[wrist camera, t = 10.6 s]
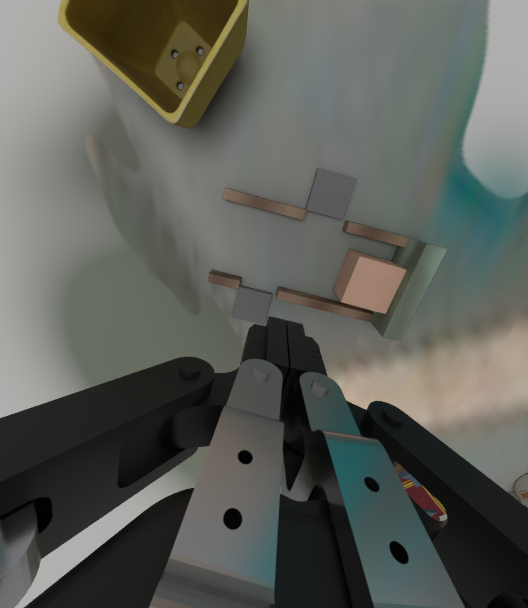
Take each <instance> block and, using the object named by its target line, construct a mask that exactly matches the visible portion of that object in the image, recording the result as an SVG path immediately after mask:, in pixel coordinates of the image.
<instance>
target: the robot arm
mask: <svg viewBox="0 0 528 608" xmlns="http://www.w3.org/2000/svg"><path fill="white" fill-rule="evenodd" d="M203 446H209V449H208V452H207V455H206V457H205V460H204V463H203V466H202V468H201V471H200V474H199V477H198V479H197V482H196V485H195V488H191V489H186V490H183V491H180V492H177V493H174V494H172V495H170V496H168V497H166V498H164V499H162V500H160V501H158V502H157V503H155V504H154V505H152V506H151V507H150V508H148V509H147V510H145V511H144V512H143V513H141V514H140V515H139V516H138V517H136V518H135V519H134V520H133V521H131V522H130V523H129V524H128V525H126V526H125V527H124V528H123V529H121V530H120V531H119V532H118V533H117V534H115V535H114V536H113V537H111V538H110V539H109V540H108V541H106V542H105V543H104V544H103V545H101V546H100V547H99V548H98V549H97V550H95V551H94V552H93V553H91V554H90V555H89V556H88V557H87V558H85V559H84V560H83V561H82V562H80V563H79V564H78V565H77V566H76V567H74V568H73V569H72V570H70V571H69V572H68V573H67V574H65V575H64V576H63V577H62V578H60V579H59V580H58V581H57V582H56V583H54V584H53V585H52V586H50V587H49V588H48V589H47V590H45V591H44V592H43V593H42V594H40V595H39V596H38V597H37V598H35V599H34V600H33V601H32V602H30V603H29V604H28V605H27V606H26V607H24V608H528V508H527V507H525V506H524V505H523V504H522V503H520V502H519V501H518V500H516V499H515V498H514V497H513V496H511V495H510V494H509V493H507V492H506V491H505V490H504V489H502V488H501V487H500V486H498V485H497V484H496V483H495V482H493V481H492V480H491V479H489V478H488V477H487V476H485V475H484V474H483V473H482V472H480V471H479V470H478V469H476V468H475V467H474V466H473V465H471V464H470V463H469V462H467V461H466V460H465V459H464V458H462V457H461V456H460V455H458V454H457V453H456V452H455V451H453V450H452V449H451V448H449V447H448V446H447V445H445V444H444V443H443V442H442V441H440V440H439V439H438V438H436V437H435V436H434V435H433V434H431V433H430V432H429V431H427V430H426V429H425V428H424V427H422V426H421V425H420V424H418V423H417V422H416V421H414V420H413V419H412V418H411V417H409V416H408V415H407V414H405V413H404V412H403V411H401V410H400V409H399V408H397V407H395V406H393V405H391V404H389V403H386V402H382V401H374V402H372V403H370V405H369V406H368V408H367V410H365V409H363V408H361V407H359V406H357V405H354V404H352V403H350V402H348V401H346V400H345V397H344V395H343V393H342V390H341V388H340V387H339V385H338V384H337V383H336V382H335V381H333V380H332V379H331V378H329V377H327V373H326V370H325V366H324V363H323V360H322V356H321V354H320V349H319V345H318V344H317V343H316V342H315V341H314V339H313V338H311V337H307V336H305V333H304V328H303V324H300V323H295V322H291V321H287V320H286V321H285V320H283V319H279V318H275V317H271V316H269V317H268V320H267V324H266V326H261V325H257V324H254V325H253V326H252V327H250V328H249V331H248V335H247V339H246V343H245V347H244V350H243V355H242V359H241V363H240V367H239V368H238V369H236V370H235V371H232V372H228V373H214V369H213V367H212V366H211V365H210V364H209V363H207V362H206V361H204V360H202V359H199V358H195V357H181V358H177V359H174V360H171V361H168V362H165V363H162V364H159V365H156V366H153V367H150V368H147V369H144V370H141V371H138V372H135V373H132V374H129V375H126V376H123V377H121V378H118V379H115V380H112V381H109V382H106V383H103V384H100V385H97V386H94V387H91V388H88V389H85V390H83V391H79V392H76V393H73V394H70V395H68V396H65V397H62V398H59V399H56V400H53V401H50V402H47V403H44V404H41V405H38V406H35V407H32V408H29V409H27V410H23V411H20V412H17V413H15V414H11V415H9V416H6V417H3V418H0V608H14V607H15V606H16V605H17V604H18V603H19V602H20V600H21V599H22V598H23V597H24V595H25V594H26V592H27V591H28V589H29V588H30V586H31V585H32V583H33V581H34V579H35V577H36V575H37V572H38V569H39V565H40V561H41V559H42V558H43V557H45V556H46V555H48V554H49V553H50V552H52V551H53V550H55V549H56V548H58V547H59V546H61V545H62V544H64V543H65V542H66V541H68V540H70V539H71V538H72V537H74V536H75V535H77V534H78V533H80V532H81V531H83V530H84V529H85V528H87V527H88V526H90V525H91V524H93V523H94V522H96V521H97V520H99V519H100V518H102V517H103V516H104V515H106V514H107V513H109V512H110V511H112V510H113V509H114V508H116V507H118V506H119V505H120V504H122V503H123V502H125V501H126V500H128V499H129V498H131V497H132V496H133V495H135V494H136V493H138V492H139V491H141V490H142V489H144V488H145V487H147V486H148V485H149V484H151V483H152V482H154V481H155V480H157V479H158V478H160V477H161V476H163V475H164V474H166V473H167V472H169V471H170V470H171V469H173V468H174V467H176V466H177V465H179V464H180V463H182V462H183V461H184V460H186V459H187V458H189V457H190V456H192V455H193V454H194V453H195V452H196V451H197V449H198V447H203ZM398 464H400V465H401V466H402V467H403V468H404V469H405V470H406V471H407V472H408V473H409V474H410V475H411V476H412V477H413V478H415V479H416V480H417V481H418V482H419V483H420V484H421V485H422V486H423V487H424V488H425V489H426V490H427V491H429V492H430V493H431V494H432V495H433V496H434V497H435V498H436V499H437V500H438V501H439V502H440V503H441V504H442V506H443V507H444V509H445V511H446V513H447V517H448V518H447V519H446V520H445V521H438V520H435V519H434V518H432V517H431V516H429V515H428V514H427V513H426V512H425V511H424V510H423V509H422V508H421V507H420V506H419V505H418V504H417V503H416V502H415V501H414V500H413V499H412V498H411V497H410V496H409V495H408V494H407V492H406V490H405V488H404V486H403V484H402V482H401V480H400V478H399V476H398V474H397V472H396V470H395V468H396V466H397V465H398ZM280 484H281V494H280Z"/></svg>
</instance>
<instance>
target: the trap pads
mask: <svg viewBox="0 0 528 608" xmlns="http://www.w3.org/2000/svg"><path fill="white" fill-rule="evenodd" d="M356 180H357V179H354V178H351V177H347V176H344V175H340V174H337V173H333V172H330V171H326V170H323V169H319V168H318V169H317V172H316V175H315V179H314V182H313V186H312V189H311V192H310V196H309V199H308V203H307V206H306V209H305V210H308V211H312V212H315V213H319V214H323V215H326V216H330V217H334V218H337V219H341V220H343V217H344V214H345V212H346V209H347V206H348V203H349V200H350V197H351V194H352V192H353V189H354V186H355V183H356ZM271 297H272V293H269V292H265V291H261V290H257V289H253V288H249V287H245V286H241V285H239V289H238V293H237V298H236V302H235V306H234V311H233V315H232V317H234V318H238V319H242V320H247V321H251V322H255V323H259V324H263V325H264V322H265V319H266V315H267V312H268V308H269V304H270V301H271Z"/></svg>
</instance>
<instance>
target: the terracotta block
mask: <svg viewBox="0 0 528 608" xmlns="http://www.w3.org/2000/svg"><path fill="white" fill-rule="evenodd" d="M406 271H407V270H406V269H405V268H403V267H401V266H399V265H397V264H395V263H394V262H392V261H389V260H385V259H382V258H378V257H375V256H371V255H368V254H364V253H360V252H357V251H353V250H350V249H349V251H348V254H347V257H346V259H345V262H344V264H343V267H342V269H341V272H340V274H339V277H338V280H337V282H336V285H335V287H334V292H335V294H336V295H337V297H338V298H339V300H340V301H341V302H343V303H346V304H350V305H354V306H357V307H361V308H365V309H368V310H372V311H376V312H380V313H383V314H386V312H387V310H388V308H389V306H390V304H391V302H392V300H393V298H394V296H395V293H396V291H397V289H398V287H399V285H400V283H401V281H402V279H403V277H404V275H405V273H406Z"/></svg>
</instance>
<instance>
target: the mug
mask: <svg viewBox="0 0 528 608" xmlns="http://www.w3.org/2000/svg"><path fill="white" fill-rule="evenodd" d="M514 490H515V492H516V494H517V496H518V497H519V499H520V500H521V501H519V502H520V503H522V504H523V505H524V506H525V507H527V508H528V474H525V475H524V476H522V477H520V478H519V479H518V480H517V481H516V483H515V485H514Z"/></svg>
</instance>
